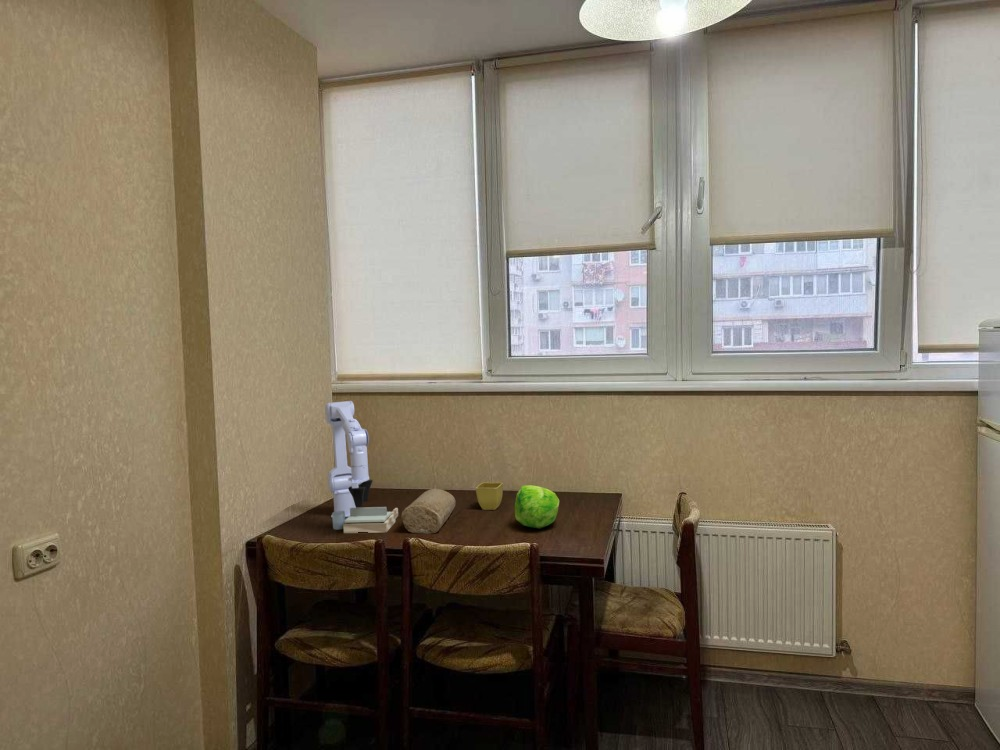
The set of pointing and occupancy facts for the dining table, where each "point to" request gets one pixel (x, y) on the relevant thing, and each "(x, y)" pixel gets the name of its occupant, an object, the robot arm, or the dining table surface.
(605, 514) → the dining table surface
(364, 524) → the frame
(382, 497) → the dining table surface
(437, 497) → the core sample
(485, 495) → the flower pot
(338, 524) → the pale blue cylinder
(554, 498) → the lettuce
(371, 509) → the lid
